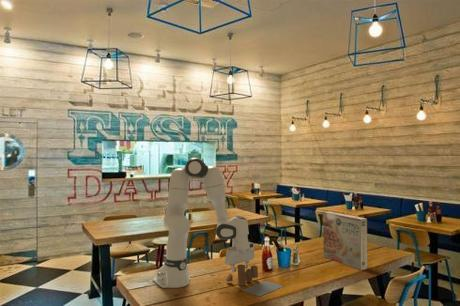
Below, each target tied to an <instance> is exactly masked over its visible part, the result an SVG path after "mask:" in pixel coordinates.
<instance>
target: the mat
mask: <svg viewBox="0 0 460 306" xmlns="http://www.w3.org/2000/svg"><path fill="white" fill-rule="evenodd" d="M283 287H284V285H282V284H278V283H275V282H272V281H268V280H264V281H262V282H260V283H257V284H255V285H251V286H249V287H247V288H243V289H241V291H242V292H245V293H248V294H250V295H253V296H256V297H262V296H265V295H268V294H269V293H272V292H274V291H276V290H279V289H281V288H283Z"/></svg>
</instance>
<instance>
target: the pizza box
mask: <svg viewBox="0 0 460 306" xmlns="http://www.w3.org/2000/svg"><path fill="white" fill-rule="evenodd" d="M323 258H325V259H328V260H330V261H334V262H337V263H339V264H342V265H345V266H348V267H350V268H353V269H357V270H360V271H364V270H367V269H368V218H365V217H360V216H356V215H350V214H345V213H344V214H343V213H339V212H334V211H323Z"/></svg>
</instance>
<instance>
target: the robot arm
mask: <svg viewBox="0 0 460 306" xmlns="http://www.w3.org/2000/svg"><path fill="white" fill-rule="evenodd" d="M192 178H195V179H196V178H197V179H201V180H202V182H203V185H204V191H205V194H206V196H207V199H208V201H210V203H212V205H213V207H214V209H215V210H214V211H215V215H216V219H217V223H216V228H215V234H216V237H217V238H218V239H219V240H221V241H228V240H231V241H232V244H231V245H232V247H228V248H227V250H226V251H225V252H226V253H225V260H224V263H225V265H227V266H230V268H231V272H232V273H236V272H237V268H235V266H236V265H238V264H241V263H243V262H244V265H245V270H247V269H249V264H250V261H251V260H254V259H255V243H254V242H250V241H249V239H248V234H249V223H248V222H249V221H248V219H247V218H246V217H244V216H241V215H234V216H233V217H232V218H230V217H229V215H228V212H227V208H226V207H227V205H226V202H225V201H226V187H225V183H224V179H223V175H222V173H221V170H220V168H218V167H217V166H215V165H209V166H208V165H207V164H206V163H205V162H204V161H203V159H201V158H200V157H196V156H194V157H191V158H189V159H188V160H187V161H186V163H185V165H184V166H183V167H181V168H180V167H178V168H175V169H173V170H172V171H171V174H170V179H169V184H168V195H167V196H168V198H167V204H166V210H165V214H164V217H163V224H164V227H165V228H166V229H167V230H168V237H167V242H166V248H165V249H166V257H164V258H163V260H164V264H163V265H162V266H161V267H159V268H158V269H157V273H156V276H155V277H153V278H152V281H153V282H154V283H155V284H157V285H158V286H159V287H161V288H163V289H164V288H165V289H167V288H168V289H169V288H171V289H176V288H183V287H186V286H188V285H189V284H190V281H191V277H190V272H189V266H188V257H187V244H188V243H187V242H188V237H189V232H190V229H191V223H190V220H189V219H188V217H187V216H185V212H186V208H187V205H188V201H189V191H190V190H189V189H190V181H191V179H192Z"/></svg>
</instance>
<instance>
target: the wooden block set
mask: <svg viewBox="0 0 460 306" xmlns="http://www.w3.org/2000/svg"><path fill="white" fill-rule="evenodd" d="M258 269H259V268H258V266H257V265H251V266H250V268H247V269H245V264H237V282H238V283H237V284H238V286H242V287H243V286H246V284H247V283H249V282H253V279H257V278H258V277H259V270H258ZM225 281H226V282H227V283H228V282H229V283H230V282H232V281H233V274H232V273H229V274H228V276H227V278H226V279H225ZM246 282H247V283H246Z"/></svg>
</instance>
